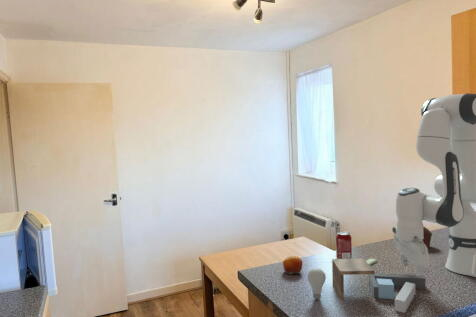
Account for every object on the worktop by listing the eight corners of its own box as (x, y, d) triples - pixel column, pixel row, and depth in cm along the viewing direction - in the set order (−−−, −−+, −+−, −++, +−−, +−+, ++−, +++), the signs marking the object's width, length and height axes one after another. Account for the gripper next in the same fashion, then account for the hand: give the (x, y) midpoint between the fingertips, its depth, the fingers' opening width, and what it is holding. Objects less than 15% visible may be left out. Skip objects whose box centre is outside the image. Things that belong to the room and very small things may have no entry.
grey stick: (406, 292, 128) (406, 281, 127) (415, 294, 126) (415, 283, 126) (394, 311, 115) (394, 299, 115) (404, 313, 113) (404, 301, 113)
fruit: (289, 275, 142) (285, 255, 146) (283, 279, 149) (279, 259, 153) (308, 273, 144) (303, 253, 148) (301, 276, 151) (297, 257, 155)
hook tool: (423, 285, 132) (423, 275, 132) (434, 302, 120) (434, 290, 120) (368, 282, 137) (368, 272, 136) (373, 298, 124) (373, 286, 124)
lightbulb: (312, 294, 128) (311, 264, 128) (328, 298, 125) (328, 267, 124) (305, 301, 123) (304, 269, 123) (322, 305, 120) (321, 273, 119)
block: (391, 292, 128) (391, 279, 127) (394, 299, 123) (393, 285, 122) (376, 292, 129) (376, 278, 128) (378, 298, 124) (378, 284, 123)
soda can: (352, 261, 159) (352, 235, 159) (336, 261, 161) (336, 234, 160) (350, 256, 166) (350, 231, 165) (335, 256, 167) (335, 230, 167)
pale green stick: (360, 271, 149) (360, 268, 149) (355, 270, 150) (355, 266, 150) (376, 262, 158) (376, 259, 158) (370, 261, 160) (370, 258, 160)
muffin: (436, 250, 171) (436, 229, 170) (412, 250, 172) (412, 229, 171) (425, 242, 183) (425, 223, 182) (403, 242, 184) (403, 223, 183)
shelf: (363, 285, 134) (363, 258, 134) (374, 299, 123) (374, 270, 122) (332, 285, 135) (332, 259, 134) (341, 300, 123) (340, 271, 122)
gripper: (433, 241, 120) (434, 281, 122) (406, 225, 141) (407, 259, 142) (414, 242, 121) (416, 282, 122) (390, 226, 141) (391, 260, 142)
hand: (411, 269), depth 132 cm, fingers open, 8 cm apart
